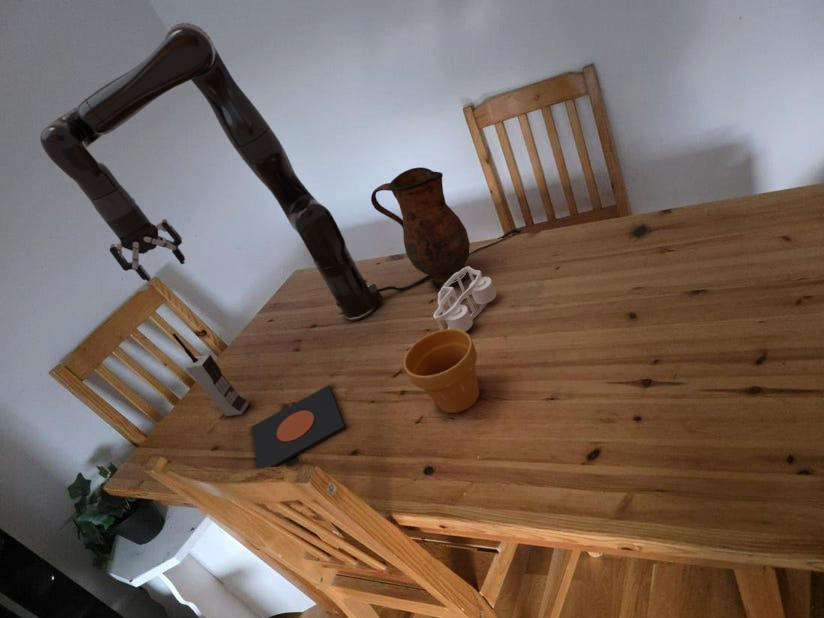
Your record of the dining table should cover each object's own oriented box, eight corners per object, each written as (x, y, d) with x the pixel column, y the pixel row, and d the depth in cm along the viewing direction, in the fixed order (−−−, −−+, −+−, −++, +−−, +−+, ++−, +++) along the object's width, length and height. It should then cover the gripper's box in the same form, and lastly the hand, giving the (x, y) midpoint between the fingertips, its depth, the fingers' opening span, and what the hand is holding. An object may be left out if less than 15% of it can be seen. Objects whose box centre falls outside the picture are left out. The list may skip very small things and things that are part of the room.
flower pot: (418, 395, 129) (394, 351, 121) (476, 364, 131) (456, 318, 123) (440, 434, 118) (415, 388, 110) (502, 399, 119) (482, 351, 112)
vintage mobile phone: (242, 415, 145) (178, 337, 129) (226, 416, 146) (161, 340, 131) (249, 404, 147) (188, 326, 132) (233, 405, 149) (171, 329, 134)
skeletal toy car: (463, 344, 138) (452, 320, 133) (427, 338, 144) (416, 315, 140) (505, 292, 148) (497, 267, 144) (470, 288, 155) (461, 265, 150)
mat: (330, 387, 142) (328, 384, 141) (345, 428, 128) (343, 425, 128) (253, 428, 139) (250, 425, 138) (260, 475, 126) (257, 472, 125)
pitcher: (472, 293, 153) (429, 187, 135) (400, 301, 162) (351, 202, 143) (488, 257, 164) (451, 154, 146) (420, 266, 173) (377, 170, 155)
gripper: (87, 231, 128) (137, 291, 137) (149, 200, 130) (195, 262, 140) (90, 220, 133) (138, 279, 143) (150, 192, 136) (193, 251, 145)
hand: (166, 271), depth 141 cm, fingers open, 8 cm apart
